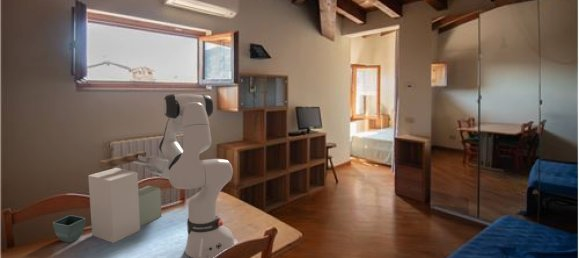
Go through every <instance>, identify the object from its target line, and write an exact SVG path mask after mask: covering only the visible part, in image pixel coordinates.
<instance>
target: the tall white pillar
mask: <svg viewBox="0 0 579 258" xmlns="http://www.w3.org/2000/svg"><path fill="white" fill-rule="evenodd" d="M138 173H139V172H136V171H133V170H128V169H123V168H119V167H113V168H109V169H105V170H104V171H99V172H96V173H92V174H89V175H87V178H88V190H89V191H88V194H89V207H90V220H91V221H90V222H91V235H92V236H93V237H96V238H98V239H101V240H104V241H107V242H110V243H112V244H114V243H117V242H118V241H121V240H123V239H125V238H127V237H129V236H131V235H133V234H135V233H137V232H140V231H141V226H140V218H139V194H138V189H139V174H138Z"/></svg>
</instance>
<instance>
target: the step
mask: <svg viewBox="0 0 579 258" xmlns="http://www.w3.org/2000/svg"><path fill="white" fill-rule="evenodd" d="M161 193H162V192H161V188H160V187H156V186H153V185H146V186H144V187H142V188H138V194H139V218H140V227H143V226H145V225H146V224H148V223H151V222H152V221H155V220H157V219H159V218H161V217H162V199H161V198H162V194H161Z"/></svg>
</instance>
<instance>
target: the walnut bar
mask: <svg viewBox="0 0 579 258" xmlns="http://www.w3.org/2000/svg"><path fill="white" fill-rule="evenodd" d="M137 155H140V156H143V157H145V156H147V151H143V150H140V151H136V152H131V154H129V153H127V154H122V155H119V156H115V157H110V158H107V159H103V160H102V159H101V160H99V169H104V170H108V169H112V168H116V167H118V166H121V165H125V164H130V163H133V161H137V160H139V159H136V157H137Z"/></svg>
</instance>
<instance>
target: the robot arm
mask: <svg viewBox="0 0 579 258" xmlns="http://www.w3.org/2000/svg"><path fill="white" fill-rule="evenodd" d="M214 106H215V105H214V101H213V98H212V97H211V96H210V95H207V94H194V93H179V94H174V93H173V94H168V95H165V97H164V98H163V100H162V106H161V107H162V108H161V109H162V112H163V113H164V116H166V117H167V118H168V120H167V121H166V125H165V130H164V133H163V136H162V139H161V141H160V143H159V147H158V149H159V151H160V152H161V153H162V155H163V156H164V157H160V156H158V155H155V154H152V155H150V156H147V155H146V156H145V157H143V156H140V155H137V157H136V159H139V160H137V161H133V162H132V163H134V164H137V165H139V166H144V169H145V170H146V172H148V173H150V174H153V175H156V176H157V175H158V176H159V177H161V178H164V179H168V181H169V183H170V185H171V186H172V188H174V189H179V190H190V189H198V188H200V190H199V191H198V192H197V193H195V194H194V195H192V196H191V197H190V198H189V200H188V204H187V206H188V208H187V209H188V211H187V212H188V213H187V215H188V218H187V220H186V222H187V223H186V231H187V240H186V245H185V249H184V253H185V254H186V256H188V257H190V258H213V257H215V256H216V255H217V254H219V253H220V252H222V251H223V250H225V249H227V248H229V247H231V246H232V245H234V244H236V243H239V241H238V240H237V238H235V237H234V235H233V232H232V231H231V229H229V227H227V226H225V225H224V223H223V221H222V219H221V217H220V216H219V215H218V214H217V215H216V213H217V212H216V211H217V209H216V208H217V200H218V197H219V196H220V193H221V191H222V189H223V188H224V187H225V186H226V185H227V184H228V183H229V182H230V181H231V180H232V178H233V174H234V168H233V165H232V164H231V162H230V161H229V160H228V159H223V158H211V159H210V158H209V159H200V154H202V153H203V152H205V151H207V150H208V149H209V148H210V147H211V145H212V135H211V129H210V127H211V126H210V121H209V120H210V119H209V117H211V116H212V114H213V112H214ZM177 134H180V135H181V134H182V137H183V147H182V146H181V145H180V143H179V142H178V139H177ZM131 153H132V152H131ZM131 153H130V152H129V153H128V154H131Z"/></svg>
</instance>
